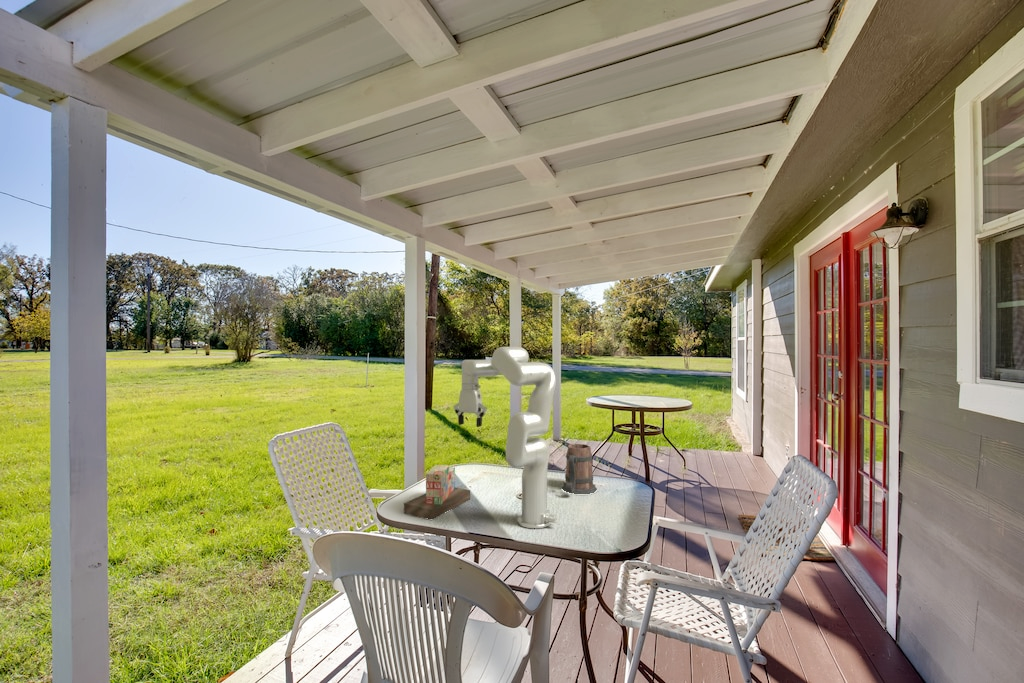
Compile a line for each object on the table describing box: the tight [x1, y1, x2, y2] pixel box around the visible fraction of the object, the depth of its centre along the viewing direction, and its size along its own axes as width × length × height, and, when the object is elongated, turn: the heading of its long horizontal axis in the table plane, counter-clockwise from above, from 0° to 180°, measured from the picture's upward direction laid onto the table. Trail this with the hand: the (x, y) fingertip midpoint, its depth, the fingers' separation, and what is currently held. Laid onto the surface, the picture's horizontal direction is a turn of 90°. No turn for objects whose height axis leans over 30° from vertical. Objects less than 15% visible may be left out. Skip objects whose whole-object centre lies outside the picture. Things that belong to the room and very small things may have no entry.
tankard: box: [561, 443, 598, 494], centre depth 209 cm, size 24×17×20 cm
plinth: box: [403, 487, 471, 520], centre depth 189 cm, size 14×26×4 cm, turn 151°
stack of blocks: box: [425, 464, 456, 505], centre depth 190 cm, size 21×6×12 cm, turn 172°
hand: (469, 425), depth 206 cm, fingers open, 9 cm apart
